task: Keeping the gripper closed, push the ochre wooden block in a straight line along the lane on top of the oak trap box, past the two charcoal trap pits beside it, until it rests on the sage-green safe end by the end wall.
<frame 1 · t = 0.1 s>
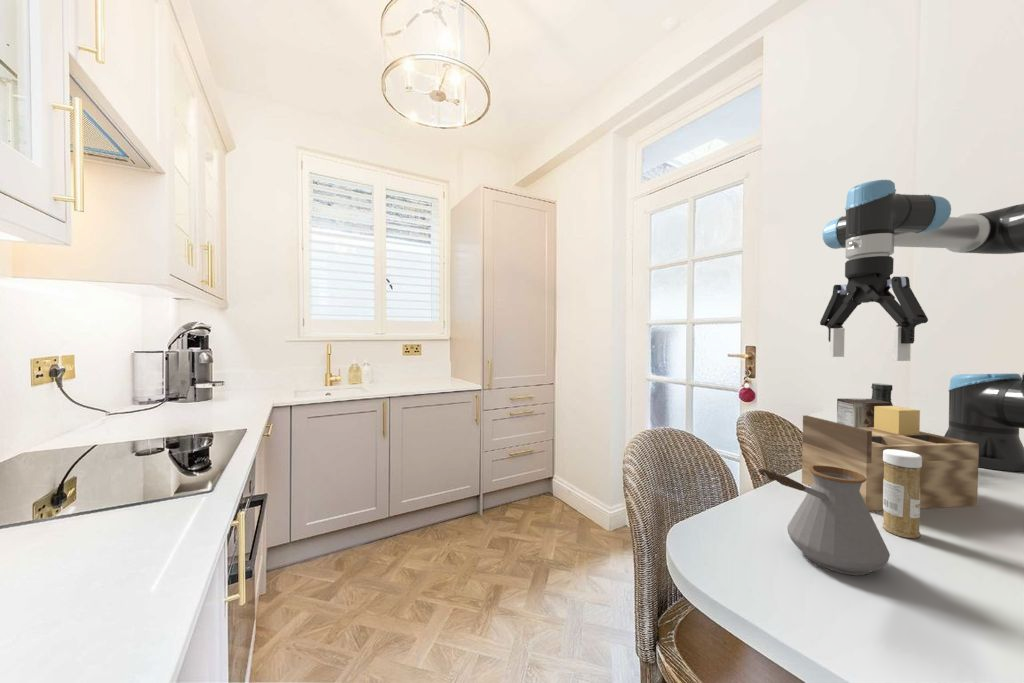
hand: (866, 358, 82), 28 cm above the breakfast bar, tool pointing down, fingers open, 13 cm apart
sprinkles bottle: (900, 533, 64), on the breakfast bar
coffee box: (862, 462, 100), on the breakfast bar
ochre block: (896, 430, 84), point 12 cm above the breakfast bar, touching trap box
coffee pot: (811, 566, 55), on the breakfast bar
trap box: (883, 493, 80), on the breakfast bar
sauce bottle: (878, 457, 104), on the breakfast bar
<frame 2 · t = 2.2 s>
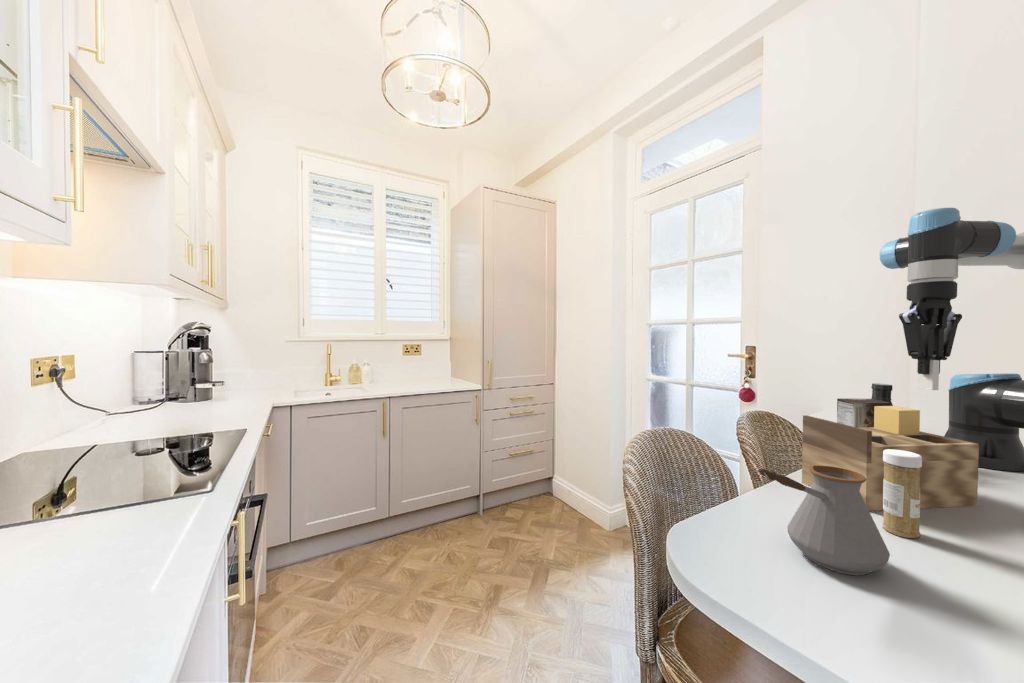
hand: (928, 389, 85), 21 cm above the breakfast bar, tool pointing down, fingers closed
nothing on the breakfast bar moved.
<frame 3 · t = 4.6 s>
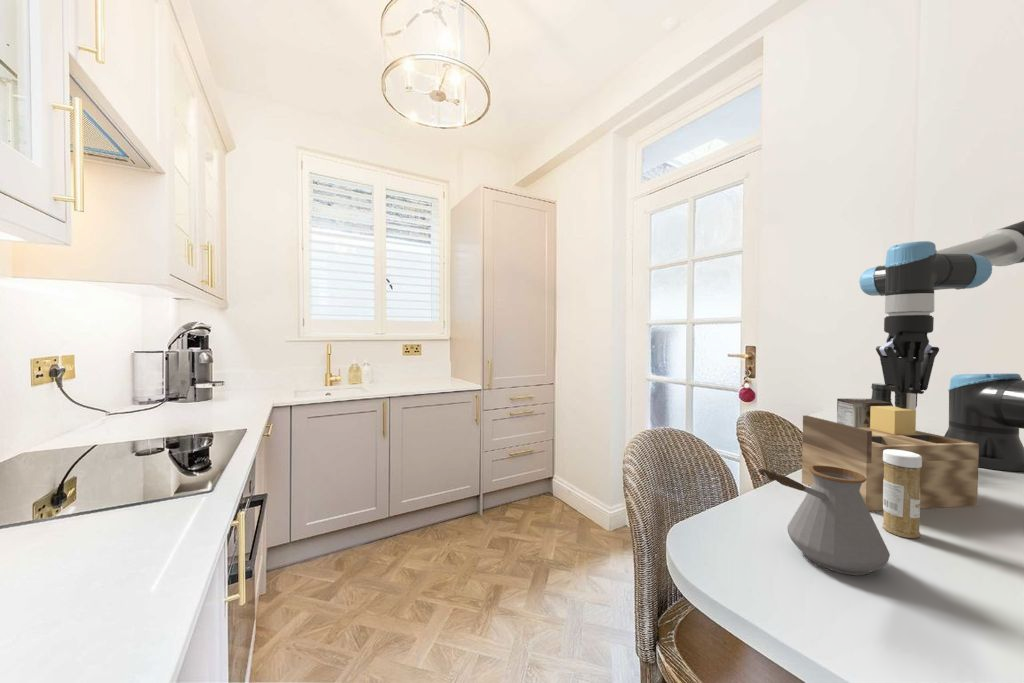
hand: (905, 422, 84), 14 cm above the breakfast bar, tool pointing down, fingers closed
ochre block: (892, 431, 84), point 12 cm above the breakfast bar, touching gripper
everything else where it was.
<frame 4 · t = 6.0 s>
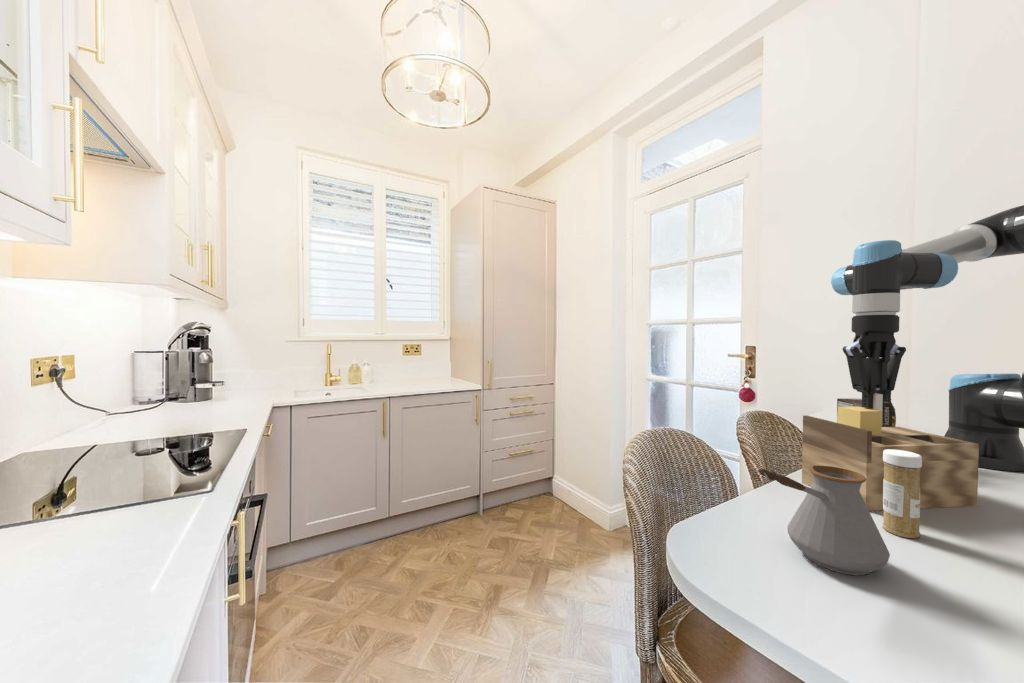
hand: (872, 423, 83), 14 cm above the breakfast bar, tool pointing down, fingers closed
ochre block: (858, 431, 83), point 12 cm above the breakfast bar, touching trap box
everything else where it was.
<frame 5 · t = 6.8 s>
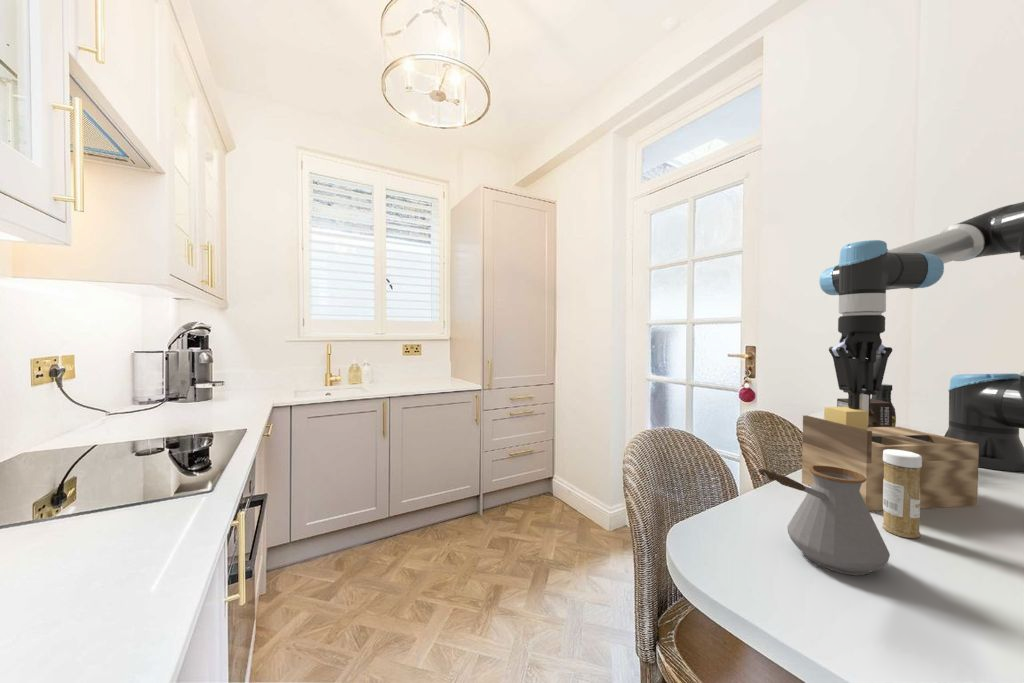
hand: (858, 423, 83), 14 cm above the breakfast bar, tool pointing down, fingers closed
ochre block: (845, 432, 83), point 12 cm above the breakfast bar, touching gripper, trap box
everything else where it was.
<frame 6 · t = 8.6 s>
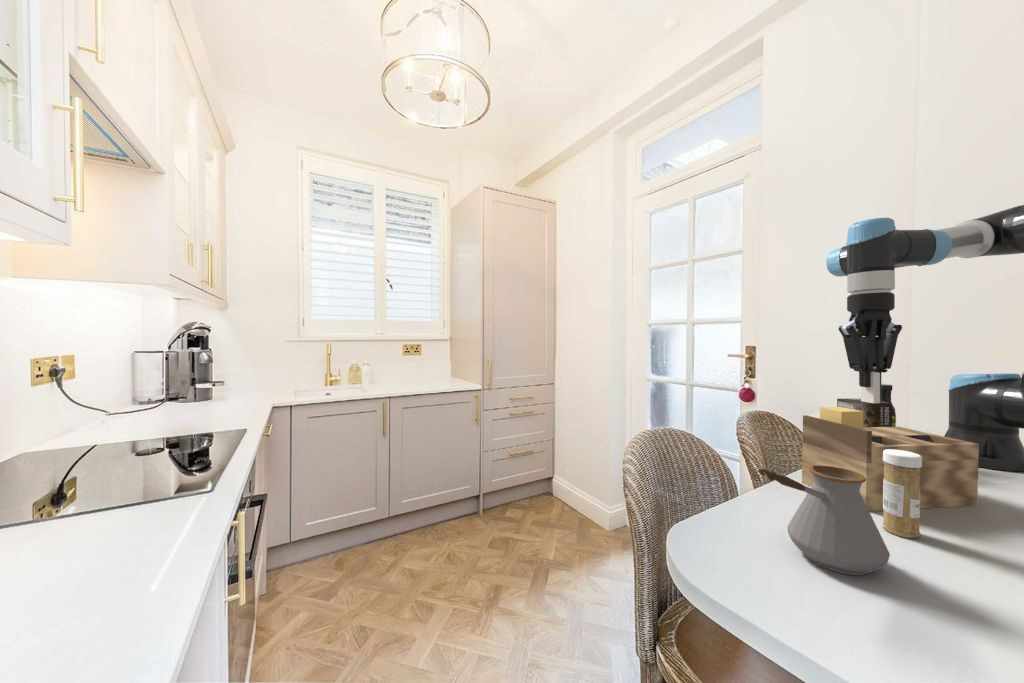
hand: (870, 402, 83), 18 cm above the breakfast bar, tool pointing down, fingers closed
ochre block: (840, 432, 83), point 12 cm above the breakfast bar, touching trap box
everything else where it was.
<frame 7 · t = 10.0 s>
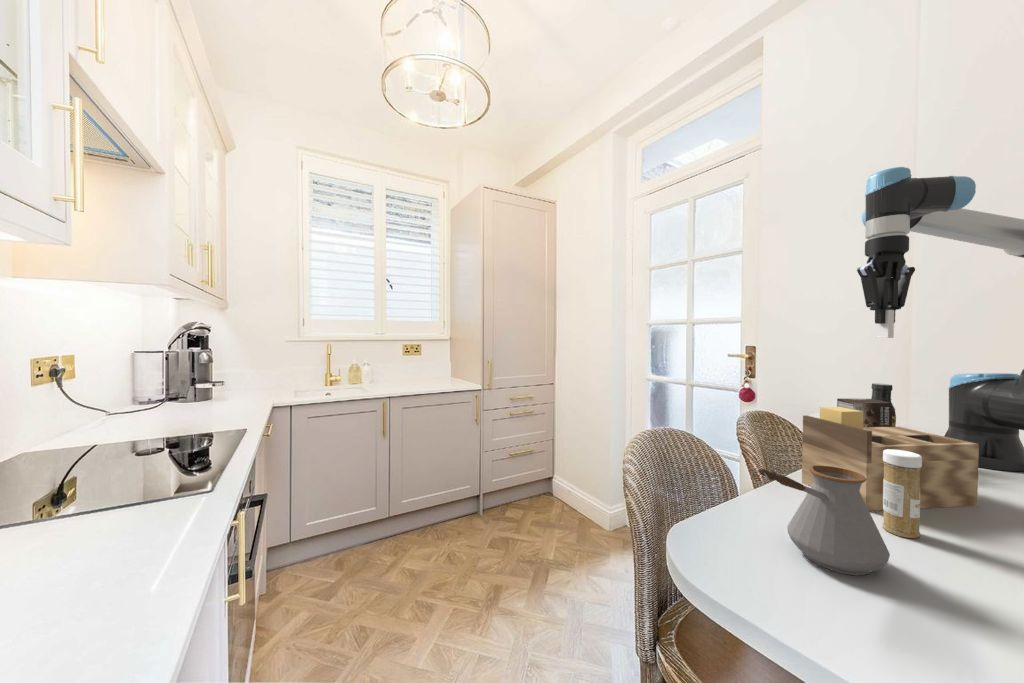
hand: (884, 337, 91), 32 cm above the breakfast bar, tool pointing down, fingers closed
nothing on the breakfast bar moved.
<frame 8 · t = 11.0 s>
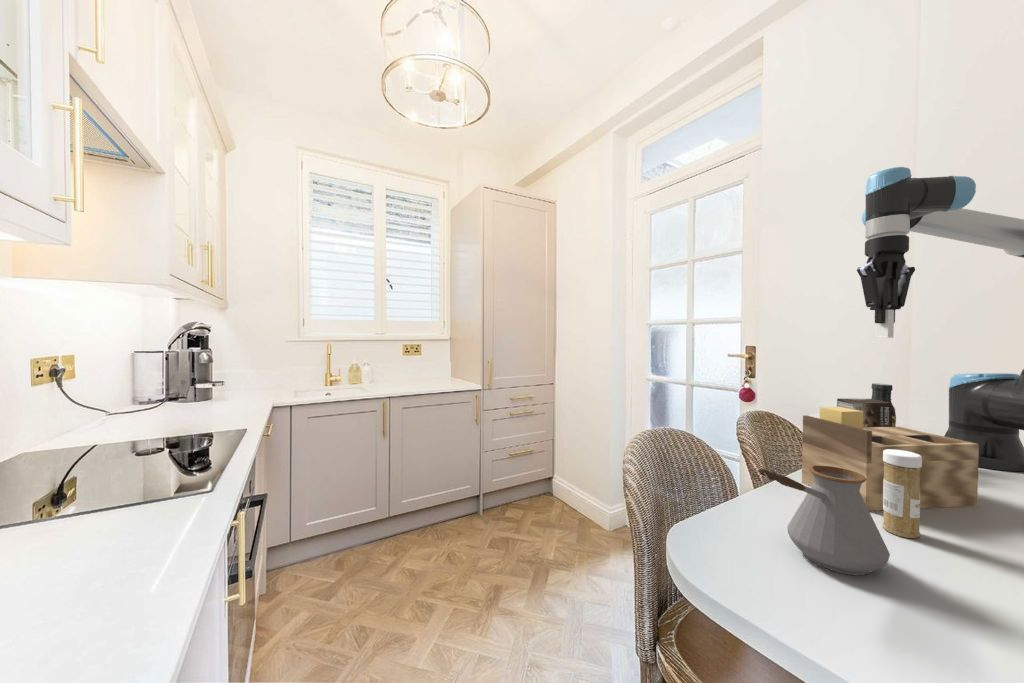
hand: (884, 337, 91), 32 cm above the breakfast bar, tool pointing down, fingers closed
nothing on the breakfast bar moved.
at the end: ochre block 0.8 cm from the target spot on the trap box, point 12.0 cm above the trap box's base; ochre block tilted 0°; the gripper is holding nothing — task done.
